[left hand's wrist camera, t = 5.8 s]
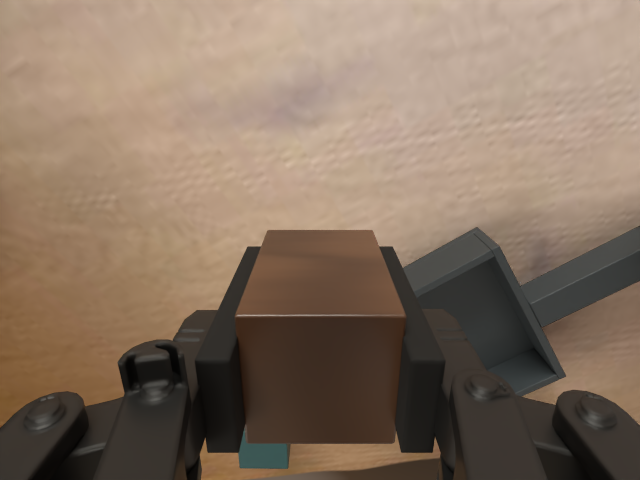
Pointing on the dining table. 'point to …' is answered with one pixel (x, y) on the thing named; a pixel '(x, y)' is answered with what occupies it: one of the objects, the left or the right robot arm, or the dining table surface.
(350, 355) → the walnut block
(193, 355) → the left robot arm
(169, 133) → the dining table surface
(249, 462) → the teal block
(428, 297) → the tray
